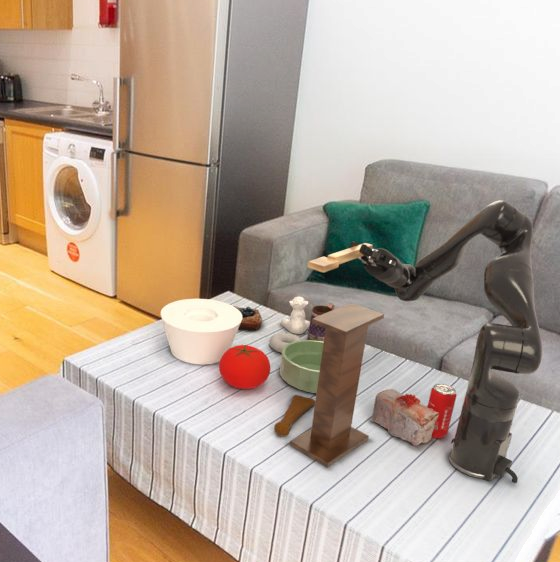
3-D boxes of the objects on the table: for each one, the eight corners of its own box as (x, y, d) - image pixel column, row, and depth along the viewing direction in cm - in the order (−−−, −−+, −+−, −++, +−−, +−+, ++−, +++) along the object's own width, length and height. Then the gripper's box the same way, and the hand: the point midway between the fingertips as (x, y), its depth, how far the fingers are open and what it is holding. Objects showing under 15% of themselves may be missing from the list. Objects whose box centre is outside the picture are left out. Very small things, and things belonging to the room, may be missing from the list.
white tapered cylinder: (143, 349, 178) (143, 313, 174) (196, 326, 193) (197, 292, 189) (203, 379, 162) (205, 340, 157) (255, 351, 177) (259, 315, 172)
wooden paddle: (360, 249, 153) (361, 241, 152) (375, 254, 150) (377, 245, 149) (307, 267, 141) (308, 258, 140) (323, 272, 137) (324, 263, 136)
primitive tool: (294, 396, 154) (296, 384, 152) (315, 402, 151) (317, 390, 150) (272, 434, 138) (273, 422, 137) (295, 441, 136) (297, 429, 134)
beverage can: (445, 442, 136) (456, 397, 131) (420, 434, 138) (430, 391, 134) (447, 430, 140) (458, 387, 135) (423, 424, 142) (433, 381, 138)
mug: (322, 351, 177) (327, 314, 173) (301, 343, 182) (306, 307, 178) (339, 340, 184) (344, 305, 179) (319, 333, 188) (323, 298, 184)
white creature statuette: (309, 325, 194) (314, 291, 190) (313, 336, 186) (317, 302, 182) (280, 323, 195) (283, 290, 191) (282, 334, 187) (286, 300, 183)
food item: (438, 441, 136) (446, 405, 132) (417, 453, 132) (425, 416, 128) (386, 413, 147) (392, 378, 143) (365, 423, 143) (371, 388, 139)
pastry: (226, 315, 202) (227, 299, 200) (262, 318, 199) (263, 302, 197) (223, 328, 192) (224, 312, 190) (260, 332, 189) (262, 316, 187)
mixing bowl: (363, 380, 161) (367, 358, 158) (322, 403, 151) (326, 379, 148) (306, 355, 175) (309, 334, 172) (265, 374, 164) (268, 352, 162)
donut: (296, 359, 173) (307, 345, 180) (298, 349, 171) (308, 335, 179) (264, 350, 178) (275, 337, 185) (265, 340, 176) (276, 328, 184)
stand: (368, 440, 136) (391, 314, 124) (327, 467, 127) (347, 335, 115) (331, 420, 144) (349, 300, 132) (289, 445, 135) (305, 318, 123)
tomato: (244, 366, 168) (246, 333, 165) (278, 385, 159) (282, 351, 155) (207, 381, 161) (209, 347, 157) (241, 402, 151) (244, 366, 147)
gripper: (366, 247, 164) (338, 226, 152) (414, 260, 154) (388, 239, 142) (355, 272, 164) (326, 253, 152) (402, 286, 154) (376, 267, 142)
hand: (356, 246), depth 147 cm, fingers closed on wooden paddle, 2 cm apart
